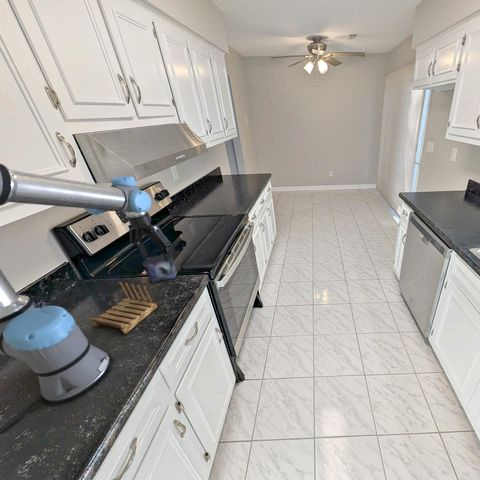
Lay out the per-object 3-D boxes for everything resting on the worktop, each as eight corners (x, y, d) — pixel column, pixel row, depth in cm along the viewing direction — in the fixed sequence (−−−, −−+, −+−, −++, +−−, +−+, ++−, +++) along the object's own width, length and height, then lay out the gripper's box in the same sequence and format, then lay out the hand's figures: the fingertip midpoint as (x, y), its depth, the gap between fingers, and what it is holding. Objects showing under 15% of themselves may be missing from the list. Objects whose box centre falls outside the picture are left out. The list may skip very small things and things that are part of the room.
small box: (150, 284, 115) (141, 264, 110) (154, 276, 120) (145, 257, 116) (175, 279, 117) (167, 260, 112) (178, 271, 123) (171, 253, 118)
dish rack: (125, 334, 89) (112, 311, 84) (94, 326, 93) (80, 304, 88) (157, 306, 101) (147, 285, 96) (129, 301, 105) (118, 280, 100)
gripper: (169, 212, 104) (185, 256, 114) (123, 209, 110) (142, 251, 120) (154, 219, 97) (172, 265, 107) (106, 216, 104) (128, 259, 114)
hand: (156, 258), depth 114 cm, fingers open, 13 cm apart
